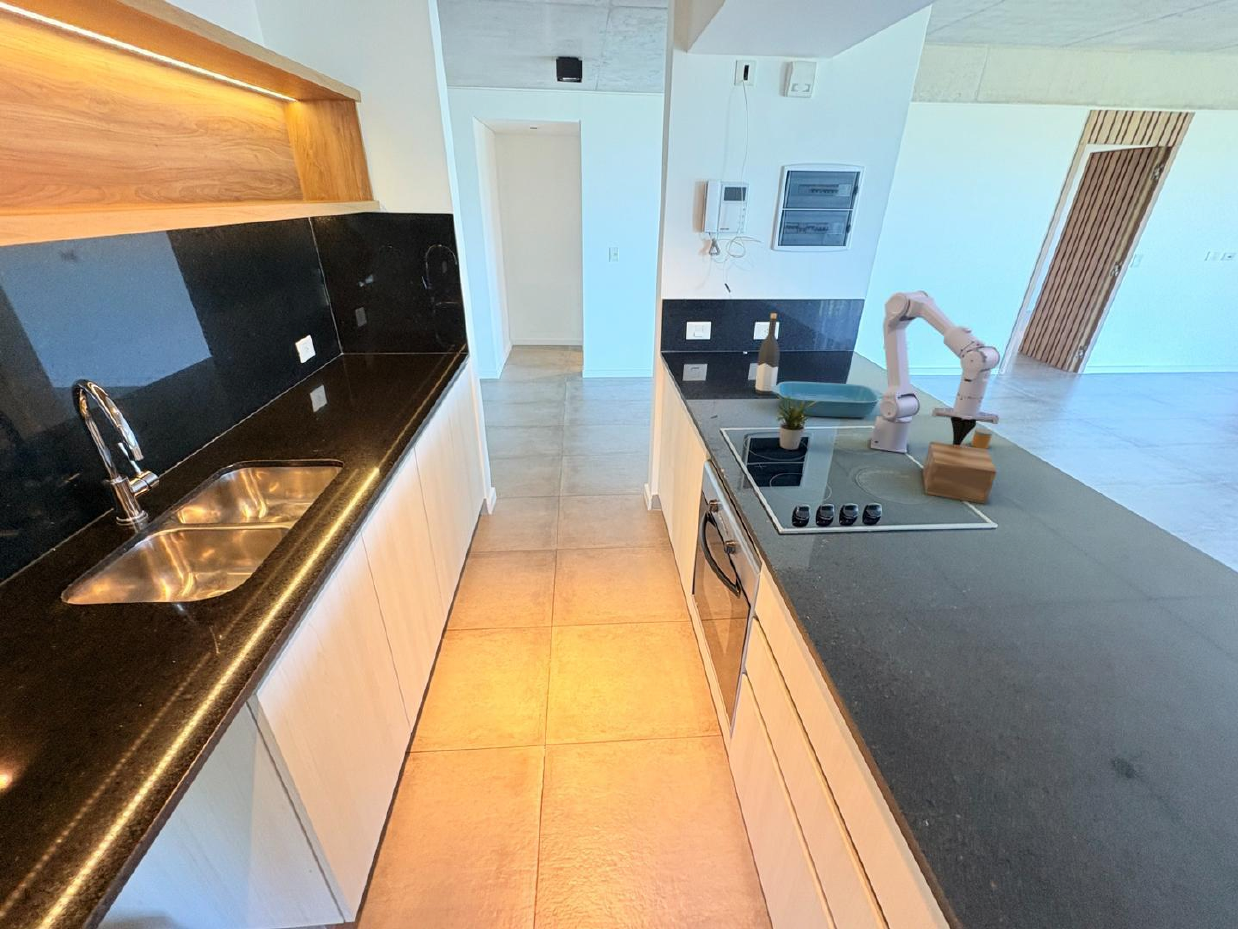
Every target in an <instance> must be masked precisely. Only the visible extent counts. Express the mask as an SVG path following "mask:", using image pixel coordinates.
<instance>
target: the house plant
mask: <svg viewBox="0 0 1238 929" xmlns="http://www.w3.org/2000/svg"><path fill="white" fill-rule="evenodd" d="M772 395H776V396H777V397H778V399H779V398H780V399H781V397H780V396H778V394H774V393H773V394H772ZM786 397H787V400H788V404H789V413H788V411H787V409H786V407H785V404H784V402H783V400H782V399H781V401H782V403H781V402H780V401H779V400H776V402H778V403H779V404H778V403H775V402H774V403H772V404H775V405H777V406H778V407H779V408H780V409H778V410H777V411H775V412H776V413H777V414H778V415H780V416H778V418H777V419H776V423H777V422H779V421H782V423H780V424H779V446H780V447H781V448H783V449H786V450H798V448H799V446H800V443H801V440H802V437H803V434H804V431H805V425H806V422H805V421H806V420H808V419H813V416H812V415H802V414H803V413H804V412H805V411H806V410H807V409H808V408H809V407H811V406H812V405H813V404H814V403H816V402H818V401H815V402H813V403H811V404H810V405H808V406H807V407H806V408H804V409H802V410H801V408H802V406H803V404H804V400H805V398H804V399H802V400H803V401H802V403H801V405H800V407H799V409H796V406H797V404H798V403H797V404H796V403H795V404H796V405H795V406H794V409H793V407H792V403H791V401H790V397H789V396H788V394H787V396H786ZM798 397H799V396H798ZM797 399H798V398H797ZM796 401H797V400H796ZM799 402H800V401H799ZM780 403H781V404H782V406H783V407H784V409H785V410H786V411H785V410H784V409H783V408H782V407H781V404H780ZM800 410H801V411H800ZM784 411H785V412H784Z"/></svg>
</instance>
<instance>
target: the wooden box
mask: <svg viewBox="0 0 1238 929" xmlns="http://www.w3.org/2000/svg"><path fill="white" fill-rule="evenodd" d="M996 474H997V470H996V467H995V465H994V462H993V461H992V458H991V455H990V453H989V451H988V448H986V449H982V448H977V447H974V446H968V445H953V443H946V442H938V441H930V442H929V446H928V450H927V454H926V457H925V461H924V465H923V469H922V475H923V482H924V489H925V490H924V491H925V494H926V495H931V496H936V497H943V498H948V499H954V500H960V501H965V502H971V503H975V504H976V503H977V504H983V505H986V504H987V503H988V500H989V496H990V492H991V490H992V486H993V484H994V482H995V477H996Z"/></svg>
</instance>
